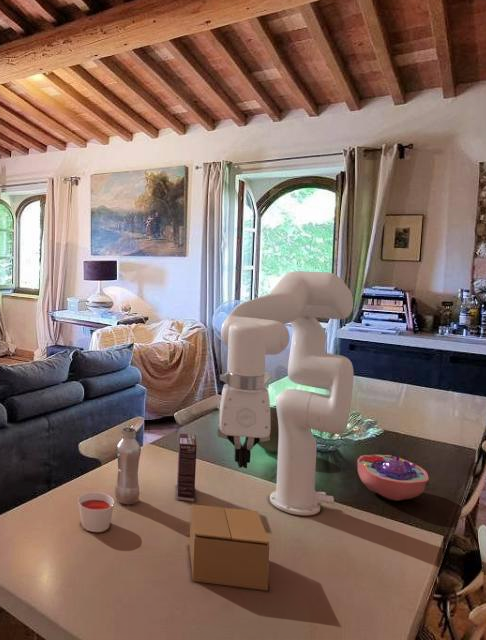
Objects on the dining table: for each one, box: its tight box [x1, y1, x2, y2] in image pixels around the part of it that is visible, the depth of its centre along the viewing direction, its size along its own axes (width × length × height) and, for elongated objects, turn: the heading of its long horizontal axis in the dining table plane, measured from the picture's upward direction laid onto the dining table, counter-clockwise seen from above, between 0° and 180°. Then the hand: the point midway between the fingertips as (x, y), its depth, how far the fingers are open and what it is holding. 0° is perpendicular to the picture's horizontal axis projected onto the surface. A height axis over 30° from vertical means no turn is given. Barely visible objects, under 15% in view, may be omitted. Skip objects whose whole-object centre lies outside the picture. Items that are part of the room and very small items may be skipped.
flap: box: [223, 507, 270, 545], centre depth 113 cm, size 7×13×1 cm, turn 170°
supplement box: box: [176, 433, 198, 502], centre depth 147 cm, size 9×5×16 cm, turn 168°
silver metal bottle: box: [114, 427, 142, 505], centre depth 142 cm, size 6×7×20 cm
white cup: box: [77, 491, 115, 533], centre depth 130 cm, size 9×9×6 cm
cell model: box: [356, 453, 430, 502], centre depth 149 cm, size 17×20×11 cm
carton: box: [189, 503, 270, 591], centre depth 114 cm, size 15×13×10 cm
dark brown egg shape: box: [256, 406, 279, 453], centre depth 180 cm, size 14×14×15 cm
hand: (241, 465), depth 112 cm, fingers closed
